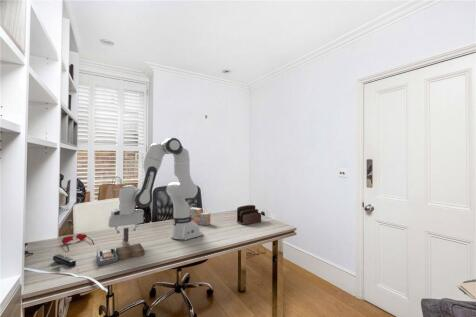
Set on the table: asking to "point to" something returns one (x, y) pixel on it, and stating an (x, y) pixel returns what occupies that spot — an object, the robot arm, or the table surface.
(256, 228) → the table surface
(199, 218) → the stack of blocks
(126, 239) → the grey block with handle
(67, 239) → the glasses
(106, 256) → the tile
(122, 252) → the brown square slab
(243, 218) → the brown lidded box
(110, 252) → the tile
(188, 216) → the robot arm
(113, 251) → the box
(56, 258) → the portable electronic device stand
